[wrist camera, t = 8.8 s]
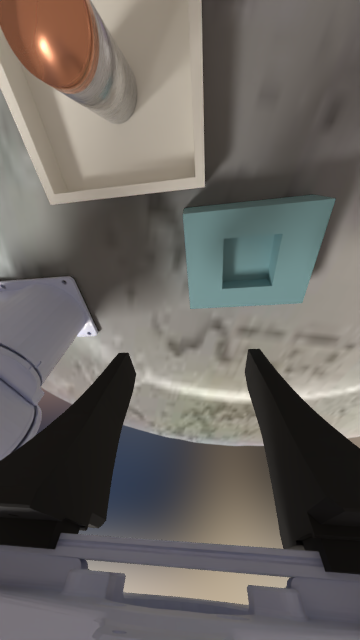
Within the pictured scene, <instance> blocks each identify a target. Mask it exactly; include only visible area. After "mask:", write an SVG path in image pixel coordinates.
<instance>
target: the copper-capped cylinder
mask: <svg viewBox="0 0 360 640" xmlns="http://www.w3.org/2000/svg"><path fill="white" fill-rule="evenodd" d="M0 27H1V29H2V31H3V34H4V36H5V38H6V40H7V42H8V44H9V46H10V47H11V49H12V51H13V52H14V54H15V55H16V57H17V58H18V59H19V61H20V62H21V63H22V64H23V65H24V67H25V68H26V69H27V70H28V71H29V72H30V73H31V74H33V75H34V76H35V77H37V78H38V79H40V80H41V81H43V82H45V83H46V84H48V85H49V86H51V87H53V88H54V89H56V90H58V91H59V92H61V93H63V94H64V95H66V96H67V97H69V98H71V99H72V100H74V101H76V102H77V103H79V104H81V105H82V106H84V107H86V108H87V109H89V110H90V111H92V112H94V113H95V114H97V115H99V116H100V117H102V118H104V119H105V120H107V121H109V122H111V123H113V124H122V123H124V122H126V121H127V120H129V119H130V117H131V116H132V115H133V113H134V111H135V108H136V104H137V84H136V79H135V76H134V73H133V71H132V69H131V67H130V65H129V63H128V62H127V60H126V58H125V57H124V55H123V53H122V52H121V50H120V48H119V47H118V45H117V43H116V42H115V40H114V38H113V37H112V35H111V33H110V32H109V30H108V28H107V27H106V25H105V23H104V22H103V20H102V18H101V17H100V15H99V13H98V12H97V10H96V8H95V7H94V5H93V3H92V2H91V0H0Z"/></svg>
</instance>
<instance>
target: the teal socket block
mask: <svg viewBox="0 0 360 640" xmlns="http://www.w3.org/2000/svg"><path fill="white" fill-rule="evenodd" d="M335 200H336V198H330V197H324V196H319V195H304V196H294V197H285V198H275V199H266V200H256V201H247V202H237V203H228V204H218V205H209V206H199V207H190V208H184V211H183V223H184V236H185V248H186V261H187V273H188V286H189V298H190V309H197V308H217V307H236V306H256V305H275V304H295V303H302V302H303V299H304V296H305V293H306V289H307V286H308V283H309V280H310V277H311V274H312V271H313V268H314V265H315V262H316V259H317V255H318V252H319V249H320V246H321V243H322V240H323V237H324V234H325V231H326V228H327V225H328V221H329V218H330V215H331V212H332V209H333V206H334V203H335Z"/></svg>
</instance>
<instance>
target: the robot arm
mask: <svg viewBox="0 0 360 640" xmlns="http://www.w3.org/2000/svg"><path fill="white" fill-rule="evenodd" d="M63 280H65V281H66V283H65V282H64V281H63ZM4 285H5V286H6V287H5V286H4ZM90 332H91V333H90ZM97 334H98V330H97V328H96V326H95V324H94V322H93V319H92V317H91V315H90V313H89V311H88V308H87V306H86V304H85V302H84V300H83V298H82V295H81V293H80V291H79V289H78V287H77V284H76V282H75V280H74V279H73V278H72V277H70V276H63V277H50V278H36V279H23V280H9V281H0V640H360V448H358V447H357V446H356V445H354V444H353V443H352V442H351V441H349V440H348V439H347V438H346V437H345V436H343V435H342V434H341V433H340V432H338V431H337V430H336V429H335V428H334V427H332V426H331V425H330V424H329V423H328V422H326V421H325V420H324V419H323V418H322V417H321V416H320V415H319V414H317V413H316V412H315V411H314V410H313V409H312V408H311V407H310V406H309V405H308V404H307V403H306V402H305V401H304V400H303V399H302V398H301V397H300V396H299V395H298V394H297V393H296V392H295V391H294V390H293V389H292V388H291V387H290V386H289V384H288V383H287V382H286V381H285V380H284V379H283V378H282V376H281V375H280V374H279V373H278V372H277V371H276V369H275V368H274V367H273V366H272V364H271V363H270V362H269V361H268V359H267V358H266V357H265V355H264V354H263V353H262V351H261V350H260V349H248V355H247V361H246V367H245V376H246V381H247V387H248V391H249V394H250V397H251V401H252V404H253V407H254V410H255V414H256V417H257V420H258V423H259V427H260V430H261V434H262V438H263V443H264V447H265V452H266V457H267V462H268V467H269V472H270V478H271V483H272V489H273V494H274V499H275V506H276V512H277V518H278V524H279V530H280V536H281V540H282V545H283V548H284V549H276V548H262V547H249V546H234V545H220V544H207V543H192V542H179V541H166V540H152V539H138V538H124V537H111V536H97V535H83V534H78V532H79V530H83V531H86V530H87V528H88V527H91V528H99V527H101V526H102V525H103V524H104V522H105V521H106V516H107V508H108V501H109V494H110V487H111V480H112V474H113V469H114V463H115V458H116V452H117V447H118V443H119V438H120V433H121V429H122V425H123V422H124V419H125V416H126V412H127V409H128V406H129V403H130V399H131V396H132V393H133V389H134V383H135V377H136V372H135V370H134V367H133V364H132V361H131V359H130V356H129V353H118V355H117V356H116V357H115V358H114V359H113V361H112V362H111V363H110V364H109V365H108V367H107V368H106V369H105V370H104V371H103V372H102V374H101V375H100V376H99V377H98V378H97V379H96V381H95V382H94V383H93V384H92V385H91V386H90V387H89V388H88V389H87V390H86V391H85V392H84V394H83V395H82V396H81V397H80V398H79V399H78V400H77V401H76V402H75V403H74V404H73V405H71V406H70V407H69V408H68V409H67V410H66V411H65V412H64V413H63V414H62V415H60V416H59V417H58V418H57V419H56V420H54V421H53V422H52V423H51V424H50V425H49V426H47V427H46V428H45V429H44V430H43V431H41V432H40V433H38V434H37V435H36V433H37V431H38V429H39V426H40V423H41V418H42V412H41V409H40V407H39V406H38V405H37V404H38V403H39V401H40V400H41V398H42V396H43V395H44V394H45V393H44V392H43V391H42V389H41V385H42V384H43V383H44V381H45V380H46V378H47V377H48V376H49V374H50V373H51V371H52V370H53V369H54V367H55V366H56V364H57V363H58V362H59V360H60V359H61V357H62V356H63V355H64V353H65V352H66V350H67V349H68V348H69V346H70V345H71V343H72V342H73V341H74V339H75V338H76V337H82V336H96V335H97ZM35 435H36V436H35ZM86 560H95V561H107V562H120V563H130V564H143V565H154V566H165V567H177V568H188V569H200V570H212V571H223V572H235V573H246V574H258V575H269V576H280V577H292V578H289V580H288V581H287V586H286V588H275V587H264V586H253V585H248V587H247V592H248V600H249V605H243V604H235V603H227V602H219V601H211V600H202V599H193V598H182V597H173V596H161V595H148V594H136V593H124V592H123V588H124V582H125V577H126V576H125V574H123V573H112V572H102V571H91V570H89V569H88V564H87V561H86Z"/></svg>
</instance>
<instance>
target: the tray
mask: <svg viewBox="0 0 360 640" xmlns="http://www.w3.org/2000/svg"><path fill="white" fill-rule="evenodd" d="M91 2H92V3H93V5H94V7H95V8H96V10H97V12H98V13H99V15H100V17H101V18H102V20H103V22H104V23H105V25H106V27H107V28H108V30H109V32H110V33H111V35H112V37H113V38H114V40H115V42H116V43H117V45H118V47H119V48H120V50H121V52H122V53H123V55H124V57H125V58H126V60H127V62H128V63H129V65H130V67H131V69H132V71H133V73H134V76H135V79H136V84H137V104H136V108H135V111H134V113H133V115H132V116H131V117H130V119H129V120H127V121H126V122H124V123H122V124H113V123H111V122H109V121H107V120H105V119H104V118H102V117H100V116H99V115H97V114H95V113H94V112H92V111H90V110H89V109H87V108H86V107H84V106H82V105H81V104H79V103H77V102H76V101H74V100H72V99H71V98H69V97H67V96H66V95H64V94H63V93H61V92H59V91H58V90H56V89H54V88H53V87H51V86H49V85H48V84H46V83H45V82H43V81H41V80H40V79H38V78H37V77H35V76H34V75H33V74H31V73H30V72H29V71H28V70H27V69H26V68H25V67H24V65H23V64H22V63H21V62H20V61H19V59H18V58H17V57H16V55H15V54H14V52H13V51H12V49H11V47H10V46H9V44H8V42H7V40H6V38H5V36H4V34H3V31H2V29H1V27H0V88H1V90H2V92H3V95H4V97H5V99H6V102H7V104H8V106H9V109H10V111H11V113H12V116H13V118H14V120H15V123H16V125H17V127H18V130H19V132H20V134H21V137H22V139H23V141H24V144H25V146H26V148H27V151H28V153H29V155H30V158H31V160H32V162H33V165H34V167H35V169H36V172H37V174H38V176H39V179H40V181H41V183H42V186H43V188H44V190H45V193H46V195H47V197H48V200H49V202H50V204H51V205H54V204H63V203H71V202H80V201H89V200H97V199H106V198H115V197H124V196H132V195H141V194H150V193H158V192H167V191H176V190H184V189H193V188H202V187H205V164H204V109H203V55H202V0H91Z"/></svg>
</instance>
